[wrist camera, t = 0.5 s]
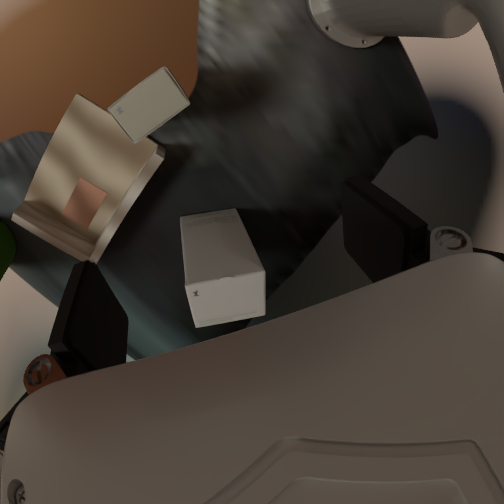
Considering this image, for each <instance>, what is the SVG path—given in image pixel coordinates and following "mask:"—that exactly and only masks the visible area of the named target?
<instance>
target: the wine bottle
mask: <svg viewBox="0 0 504 504" xmlns="http://www.w3.org/2000/svg"><path fill="white" fill-rule="evenodd" d="M15 253H16V243H15V239H14V236H13V234H12V232H11V231H10V229H9V228H8V227H7V225H6V224H5V223H3V222H2V221H0V281H1V279H2V277H3V275H4V274H5V272H6V270H7V269H8V267H9V265H10V264H11V262H12V260H13V259H14V256H15Z"/></svg>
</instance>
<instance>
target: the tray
mask: <svg viewBox="0 0 504 504" xmlns="http://www.w3.org/2000/svg"><path fill="white" fill-rule="evenodd" d="M165 151H166V149H165V148H163V147H162V146H160V145H159V144H157V143H156V142H154V141H153V140H151V139H150V138H148V137H147V136H146V137H145V138H143V139H142V140H140V141H139V142H137V143H135V144H134V143H133V142H132V141H131V140H130V138H129V137H128V136H127V135H126V134H125V132H124V131H123V130H122V129H121V127H120V126H119V125H118V123H117V122H116V121H115V119H114V118H113V117H112V115H111V114H110V113H109V112H108V111H106V110H105V109H103V108H101V107H100V106H98V105H97V104H95V103H93V102H92V101H90V100H89V99H87V98H85V97H84V96H82V95H80V94H79V93H77V94H76V96H75V97H74V99H73V101H72V102H71V104H70V106H69V107H68V109H67V111H66V113H65V114H64V117H63V118H62V120H61V122H60V124H59V126H58V127H57V129H56V131H55V133H54V135H53V137H52V139H51V141H50V143H49V145H48V147H47V149H46V151H45V153H44V155H43V157H42V160H41V162H40V164H39V166H38V169H37V171H36V173H35V175H34V178H33V180H32V183H31V185H30V188H29V190H28V193H27V195H26V198H25V200H24V202H23V203H22V204H21V205H20V206H19V207H18V208H17V209H16V211H15V212H14V213H13V216H12V219H11V220H12V221H13V222H15V223H17V224H18V225H20V226H21V227H23V228H25V229H26V230H28V231H30V232H31V233H33V234H35V235H36V236H38V237H40V238H41V239H43V240H45V241H46V242H48V243H50V244H52V245H53V246H55V247H57V248H59V249H60V250H62V251H64V252H66V253H67V254H69V255H71V256H73V257H75V258H76V259H78V260H80V261H82V262H83V261H86V260H89V261H90V262H91V263H92V262H95V263H96V264H97V262H98V260H99V259H100V257H101V255H102V253H103V252H104V250H105V248H106V247H107V245H108V243H109V241H110V240H111V238H112V236H113V235H114V233H115V232H116V230H117V228H118V227H119V225H120V223H121V222H122V220H123V219H124V217H125V216H126V214H127V212H128V211H129V209H130V208H131V206H132V205H133V203H134V202H135V200H136V199H137V197H138V196H139V194H140V193H141V191H142V190H143V188H144V187H145V185H146V184H147V182H148V181H149V179H150V178H151V177H152V175H153V174H154V172H155V171H156V169H157V168H158V167H159V165H160V164H161V162H162V161H163V160H164V157H165Z"/></svg>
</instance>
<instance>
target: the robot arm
mask: <svg viewBox="0 0 504 504" xmlns="http://www.w3.org/2000/svg"><path fill="white" fill-rule="evenodd" d="M307 7H308V11H309V14H310V16H311V18H312V20H313V22H314V23H315V25H316V26H317V28H318V29H319V30H320V31H321V32H322V33H323V34H324V35H325V36H327V37H328V38H329V39H330V40H332V41H334V42H336V43H338V44H340V45H343V46H346V47H352V48H365V47H369V46H372V45H375V44H376V43H378V42H380V41H381V40H382V39H383V38H384V37H385V36H407V37H433V38H434V37H435V38H454V37H459V36H461V35H463V34H465V33H467V32H468V31H470V30H471V29H472V28H473V27H474V26H475V25H476V24H477V22H479V24H480V26H481V28H482V31H483V33H484V35H485V38H486V40H487V41H488V44H489V46H490V50H491V52H492V56H493V59H494V62H495V65H496V68H497V71H498V74H499V78H500V82H501V85H502V88H503V92H504V0H307ZM325 27H326V28H327V30H326V29H325ZM362 42H363V43H362ZM340 190H341V203H342V216H343V233H344V246H345V249H346V250H347V252H348V254H349V255H350V256H351V257H352V258H353V260H355V262H356V263H357V264H358V266H359V267H360V268H361V269H362V270H363V271H364V273H365V274H366V275H367V276H368V277H369V279H370V280H371V281H372V282H373V284H370V285H367V286H365V287H362V288H360V289H357V290H355V291H352V292H349V293H347V294H344V295H341V296H339V297H336V298H333V299H331V300H328V301H325V302H322V303H320V304H317V305H314V306H311V307H309V308H306V309H303V310H300V311H297V312H294V313H291V314H288V315H286V316H283V317H280V318H277V319H274V320H271V321H268V322H265V323H262V324H259V325H255V326H252V327H249V328H246V329H243V330H240V331H237V332H234V333H230V334H227V335H224V336H221V337H217V338H214V339H211V340H207V341H204V342H201V343H197V344H194V345H190V346H187V347H183V348H180V349H176V350H173V351H169V352H165V353H162V354H158V355H154V356H151V357H147V358H143V359H139V360H136V361H132V362H128V363H126V353H127V336H128V317H127V314H126V312H125V311H124V309H123V308H122V306H121V305H120V303H119V301H118V300H117V298H116V297H115V295H114V293H113V292H112V290H111V288H110V287H109V285H108V283H107V282H106V280H105V278H104V277H103V275H102V273H101V272H100V270H99V268H98V266H97V265H96V263H95V262H92V263H91V262H90V261H89V260H86V261H83V262H80V263H78V264H75V265H74V267H73V269H72V272H71V275H70V277H69V280H68V283H67V286H66V288H65V291H64V294H63V297H62V300H61V303H60V306H59V309H58V312H57V315H56V319H55V322H54V325H53V329H52V332H51V335H50V339H49V343H48V346H49V348H50V349H51V354H50V355H49V354H42V355H40V356H38V357H36V358H35V359H33V360H32V361H31V363H30V364H29V365H28V367H27V369H26V370H25V373H24V378H23V382H24V386H25V388H26V390H27V392H26V393H25V394H24V395H23V396H22V397H21V398H20V400H19V401H18V402H17V403H16V404H15V405H14V406H13V407H12V409H11V410H10V411H9V412H8V414H7V415H6V416H5V417H4V418H3V419H2V420H1V421H0V504H504V254H503V253H499V252H493V251H488V250H483V249H478V248H473V247H472V243H471V240H470V237H469V236H468V235H467V234H466V233H465V232H463V231H461V230H459V229H457V228H454V227H438V228H436V229H435V230H433V231H432V232H430V231H429V230H428V229H427V226H428V224H427V223H426V222H425V221H423V220H422V219H421V218H419V217H418V216H417V215H415V214H414V213H413V212H411V211H410V210H409V209H407V208H406V207H405V206H403V205H402V204H400V203H399V202H398V201H396V200H395V199H394V198H392V197H391V196H389V195H388V194H387V193H385V192H384V191H382V190H381V189H379V188H378V187H377V186H375V185H374V184H372V183H371V182H369V181H368V180H366V179H365V178H363V177H362V176H360V175H356V176H352V177H348V178H345V179H344V183H341V185H340Z"/></svg>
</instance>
